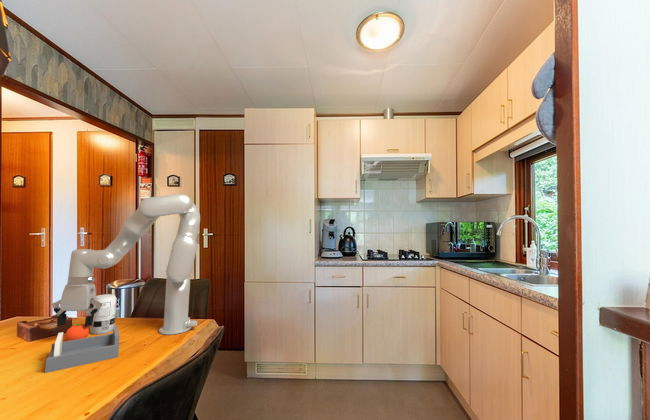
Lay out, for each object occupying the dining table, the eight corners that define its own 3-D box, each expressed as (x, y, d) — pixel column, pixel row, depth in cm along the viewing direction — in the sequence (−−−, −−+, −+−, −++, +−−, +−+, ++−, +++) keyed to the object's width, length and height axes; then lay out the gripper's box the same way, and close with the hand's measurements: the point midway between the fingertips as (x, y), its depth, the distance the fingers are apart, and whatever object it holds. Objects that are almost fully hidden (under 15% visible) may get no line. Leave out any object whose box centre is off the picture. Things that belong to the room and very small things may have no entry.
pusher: (61, 351, 97) (63, 332, 98) (58, 364, 88) (60, 342, 88) (56, 352, 96) (58, 332, 97) (52, 365, 87) (54, 343, 88)
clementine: (59, 343, 107) (61, 324, 107) (81, 337, 113) (83, 319, 113) (69, 347, 103) (70, 328, 104) (91, 341, 109) (93, 322, 110)
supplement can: (85, 333, 117) (88, 297, 118) (105, 327, 125) (108, 293, 126) (98, 335, 115) (101, 298, 116) (118, 329, 123) (121, 294, 124)
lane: (115, 343, 108) (117, 325, 108) (118, 357, 96) (119, 336, 97) (51, 355, 96) (52, 335, 97) (45, 372, 85) (47, 349, 85)
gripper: (110, 279, 114) (105, 322, 113) (64, 278, 112) (58, 322, 111) (97, 283, 107) (92, 329, 105) (48, 281, 105) (41, 328, 103)
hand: (74, 325), depth 108 cm, fingers open, 9 cm apart
